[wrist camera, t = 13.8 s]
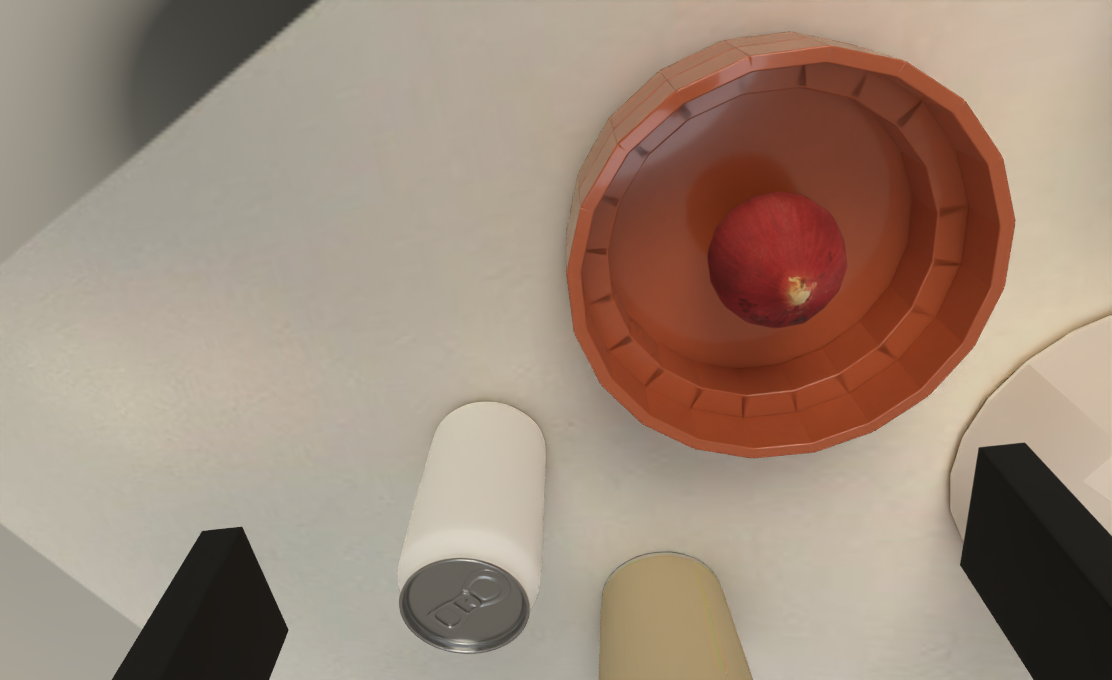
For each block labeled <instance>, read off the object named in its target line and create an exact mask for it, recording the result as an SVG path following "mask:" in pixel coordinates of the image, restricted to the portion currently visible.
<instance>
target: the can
mask: <svg viewBox="0 0 1112 680" xmlns="http://www.w3.org/2000/svg"><path fill="white" fill-rule="evenodd" d="M545 468H546V447H545V441H544V438H543V435H542V432H541V430H540V428H539V427H538V425H537V424H536V423H535V422H534V421H533V420H532V419H531V418H530V417H529V416H527V415H526V414H525V413H523V412H521V411H520V410H518V409H516V408H514V407H512V406H509V405H506V404H503V403H498V402H475V403H470V404H467V405H464V406H462V407H459V408H457V409H455V410H454V411H452V412H451V413H449V414H448V415H447V416H446V417H445V418H444V419H443V420H442V421H441V423H440V424H439V426H438V428H437V430H436V432H435V434H434V437H433V441H432V444H431V447H430V451H429V454H428V458H427V461H426V465H425V468H424V472H423V475H422V479H421V483H420V486H419V490H418V493H417V497H416V501H415V504H414V508H413V512H412V515H411V519H410V523H409V526H408V530H407V534H406V537H405V541H404V545H403V549H402V552H401V557H400V561H399V565H398V574H397V579H398V586H399V590H400V598H399V608H400V612H401V616H402V618H403V620H404V622H405V624H406V625H407V627H408V628H409V629H410V630H411V631H412V632H413V633H414V634H415V635H416V636H417V637H418V638H420V639H421V640H423V641H424V642H426V643H428V644H430V645H432V646H434V647H436V648H439V649H442V650H445V651H449V652H454V653H463V654H475V653H483V652H488V651H492V650H495V649H498V648H500V647H503V646H505V645H506V644H508V643H510V642H511V641H513V640H514V639H515V638H516V637H517V636H518V635H519V634H520V633H521V632H522V631H523V629H524V628H525V626H526V624H527V621H528V618H529V613H530V609H531V608H532V606H533V604H534V603H535V601H536V598H537V596H538V592H539V587H540V579H541V564H542V543H543V520H544V496H545Z"/></svg>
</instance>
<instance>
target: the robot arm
mask: <svg viewBox="0 0 1112 680" xmlns="http://www.w3.org/2000/svg"><path fill="white" fill-rule="evenodd" d="M960 566H961V567H962V569H963V570H964V572H965V573H966V575H967V577H968V578H969V580H970V581H971V583H972V584H973V586H974V587H975V589H976V591H977V592H978V594H979V595H980V597H981V598H982V600H983V601H984V603H985V605H986V606H987V608H988V609H989V611H990V612H991V614H992V615H993V617H994V619H995V620H996V622H997V623H998V625H999V626H1000V628H1001V630H1002V631H1003V633H1004V634H1005V636H1006V637H1007V639H1008V640H1009V642H1010V644H1011V645H1012V647H1013V648H1014V650H1015V651H1016V653H1017V654H1018V656H1019V658H1020V659H1021V661H1022V662H1023V664H1024V665H1025V667H1026V668H1027V670H1028V672H1029V673H1030V675H1031V676H1032V678H1033V679H1034V680H1112V536H1111V534H1110V533H1109V532H1108V531H1107V530H1106V529H1105V528H1104V527H1103V526H1102V525H1101V524H1100V523H1099V522H1098V520H1097V519H1096V518H1095V517H1094V516H1093V515H1092V514H1091V513H1090V512H1089V511H1088V510H1087V509H1086V508H1085V506H1084V505H1083V504H1082V503H1081V502H1080V501H1079V500H1078V499H1077V498H1076V497H1075V496H1074V495H1073V494H1072V492H1071V491H1070V490H1069V489H1068V488H1067V487H1066V486H1065V485H1064V484H1063V483H1062V482H1061V481H1060V480H1059V478H1058V477H1057V476H1056V475H1055V474H1054V473H1053V472H1052V471H1051V470H1050V469H1049V468H1048V467H1047V466H1046V464H1045V463H1044V462H1043V461H1042V460H1041V459H1040V458H1039V457H1038V456H1037V455H1036V454H1035V453H1034V452H1033V450H1032V449H1031V448H1030V447H1029V446H1028V445H1027V444H1026V443H1025V442H1023V443H1014V444H1005V445H996V446H986V447H979V448H978V454H977V461H976V467H975V474H974V480H973V486H972V493H971V499H970V505H969V512H968V518H967V525H966V531H965V537H964V544H963V550H962V556H961V563H960ZM287 633H288V628H287V626H286V623H285V621H284V619H283V617H282V614H281V612H280V610H279V608H278V605H277V603H276V601H275V599H274V597H273V594H272V592H271V590H270V588H269V585H268V583H267V581H266V579H265V577H264V574H263V572H262V570H261V568H260V565H259V563H258V561H257V559H256V557H255V554H254V552H253V550H252V548H251V545H250V543H249V541H248V539H247V536H246V534H245V532H244V530H243V528H242V527H235V528H226V529H216V530H207V531H202V532H201V534H200V536H199V537H198V539H197V541H196V542H195V544H194V545H193V547H192V549H191V550H190V552H189V554H188V555H187V557H186V559H185V560H184V562H183V564H182V565H181V567H180V568H179V570H178V572H177V573H176V575H175V577H174V578H173V580H172V582H171V583H170V585H169V587H168V588H167V590H166V591H165V593H164V595H163V596H162V598H161V600H160V601H159V603H158V605H157V606H156V608H155V610H154V611H153V613H152V614H151V616H150V618H149V619H148V621H147V623H146V624H145V626H144V628H143V629H142V631H141V633H140V634H139V636H138V638H137V639H136V641H135V642H134V644H133V646H132V647H131V649H130V651H129V652H128V654H127V656H126V657H125V659H124V661H123V662H122V664H121V666H120V667H119V669H118V670H117V672H116V674H115V675H114V677H113V679H112V680H269V679H270V676H271V673H272V671H273V668H274V666H275V663H276V661H277V658H278V656H279V653H280V651H281V648H282V646H283V643H284V641H285V638H286V636H287Z"/></svg>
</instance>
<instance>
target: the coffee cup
mask: <svg viewBox="0 0 1112 680" xmlns="http://www.w3.org/2000/svg"><path fill="white" fill-rule="evenodd" d="M599 680H753V678H752V675H751V672H750V669H749V666H748V663H747V660H746V657H745V654H744V651H743V648H742V646H741V643H740V640H739V637H738V634H737V631H736V628H735V625H734V622H733V619H732V616H731V613H730V610H729V607H728V604H727V602H726V599H725V596H724V593H723V591H722V588H721V586H720V583H719V581H718V579H717V577H716V576H715V574H714V573H713V572H712V571H711V570H710V569H709V568H708V567H707V566H706V565H705V564H703V563H702V562H700V561H699V560H697V559H695V558H693V557H690V556H686V555H683V554H679V553H669V552H660V553H651V554H646V555H642V556H639V557H636V558H634V559H632V560H629V561H628V562H626V563H624V564H623V565H621V566H620V567H619V568H617V569H616V570H615V571H614V572H613V574H612V575H611V576H610V577H609V579H608V580H607V582H606V584H605V587H604V589H603V594H602V604H601V625H600V654H599Z"/></svg>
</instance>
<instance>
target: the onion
mask: <svg viewBox="0 0 1112 680" xmlns="http://www.w3.org/2000/svg"><path fill="white" fill-rule="evenodd" d="M708 266H709V274H710V281H711V284H712V285H713V287H714V289H715V291H716V293H717V295H718V297H719V299H720V301H721V302H722V303H723V304H724V306H725V307H726V308H727V309H729V310H730V311H732V312H733V313H734V314H736V315H737V316H738V317H740V318H741V319H742V320H744V321H746V322H748V323H750V324H755V325H760V326H765V327H770V328H782V327H787V326H793V325H798V324H803V323H805V322H807V321H808V320H809V319H810V318H812V317H813V316H814V315H816V314H817V313H818V312H820V311H821V310H823V309H824V308H825V307H826V306H827V304H828V303H829V302H830V301H831V299H832V298H833V297H834V296H835V295H836V294H837V293H838V292H839V290H840V287H841V284H842V281H843V278H844V275H845V272H846V270H847V258H846V249H845V240H844V237H843V235H842V233H841V231H840V229H839V227H838V225H837V223H836V221H835V219H834V218H833V216H832V215H831V213H830V212H829V211H827V210H826V209H824V208H823V207H822V206H820V205H819V204H817V203H816V202H814V201H813V200H811V199H809V198H808V197H806V196H804V195H800V194H794V193H788V192H782V191H778V192H773V193H768V194H763V195H758V196H754V197H752V198H751V199H749V200H747V201H745V202H743V203H742V204H740V205H738V206H736V207H734V208H733V209H731V211H730V212H729V213H728V214H727V215H726V216H725V218H724V219H723V220H722V221H721V222H720V223H719V224H718V226H717V227H716V228H715V231H714V234H713V237H712V240H711V243H710V247H709V250H708Z"/></svg>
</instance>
